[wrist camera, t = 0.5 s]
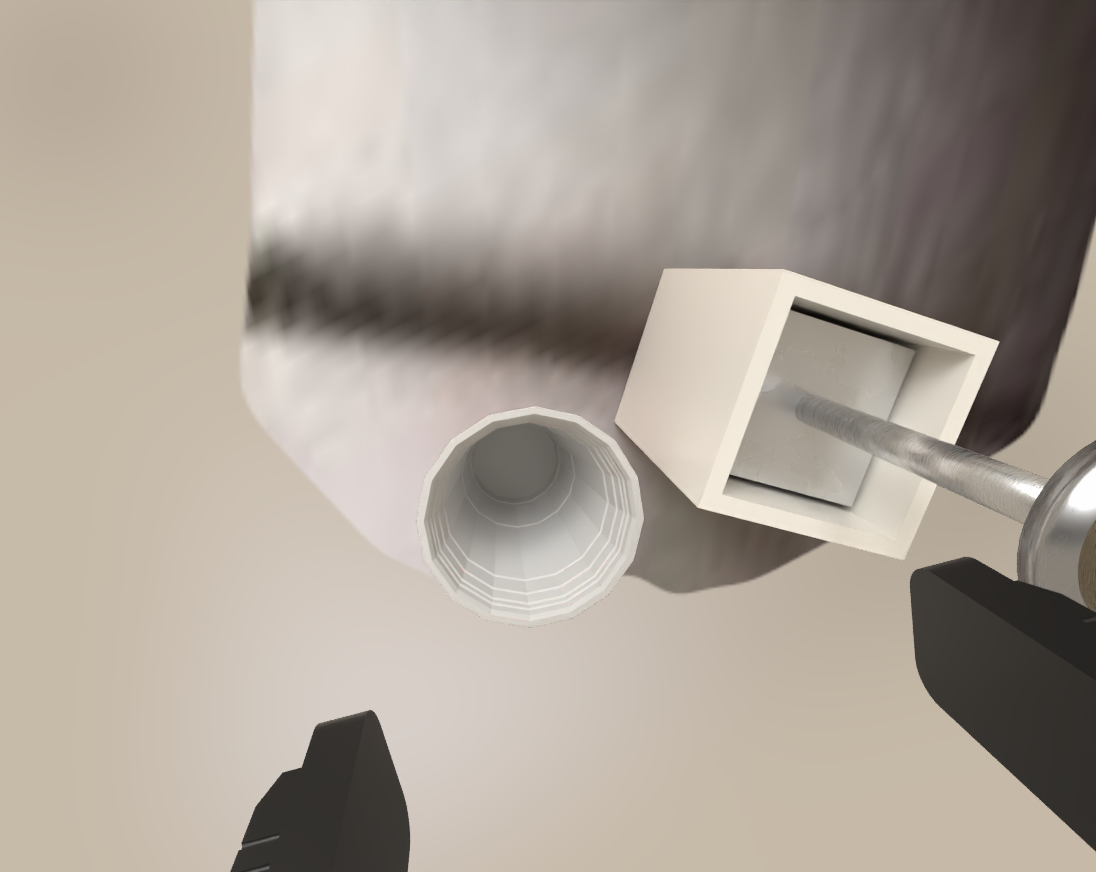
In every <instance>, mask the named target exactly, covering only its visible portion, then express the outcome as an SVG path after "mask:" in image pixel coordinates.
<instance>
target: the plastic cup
mask: <svg viewBox="0 0 1096 872" xmlns="http://www.w3.org/2000/svg"><path fill="white" fill-rule="evenodd" d="M643 521H644V515H643V508H642V502H641V495H640V489H639V482H638V476H637V475H636V473H635V472H634V470H633V468H632V467H631V465H630V464H629V462H628V460H627V459H626V457H625V456H624V454H623V452H622V451H621V449H620V447H619V446H618V444H617V443H616V441H615V440H614V439H612V438H611V437H610V436H608V435H607V434H605V433H604V432H602V431H601V430H599V429H598V428H597V427H595V426H594V425H592V424H591V423H589V422H588V421H586V420H585V419H584V418H582V417H581V416H579V415H575V414H570V413H565V412H561V411H556V410H551V409H546V408H542V407H537V406H533V407H527V408H522V409H517V410H511V411H506V412H501V413H496V414H490V415H488V416H487V417H485V418H484V419H482V420H480V421H479V422H477V423H476V424H474V425H473V426H471V427H470V428H468V429H467V430H465V431H464V432H462V433H460V434H459V435H457V436H456V437H454V438H453V439H451V440H450V442H449V443H448V444H447V446H446V447H445V449H444V450H443V452H442V453H441V455H440V456H439V458H438V459H437V460H436V462H435V463H434V465H433V466H432V468H431V469H430V471H429V472H428V474H427V475H426V476H425V479H424V484H423V489H422V494H421V499H420V504H419V509H418V514H417V519H416V524H417V529H418V533H419V538H420V542H421V547H422V551H423V556H424V561H425V564H426V566H427V567H428V569H429V570H430V571H431V573H432V574H433V575H434V577H435V578H436V580H437V581H438V582H439V584H440V585H441V586H442V588H443V589H444V591H445V592H446V593H447V595H448V596H449V597H450V599H452V600H453V601H455V602H457V603H458V604H460V605H462V606H463V607H465V608H467V609H468V610H470V611H472V612H473V613H475V614H477V615H479V616H480V617H482V618H483V619H485V620H487V621H491V622H497V623H503V624H510V625H516V626H523V627H529V628H531V627H535V626H540V625H545V624H549V623H554V622H558V621H563V620H567V619H572V618H573V617H575V616H577V615H578V614H580V613H581V612H583V611H585V610H586V609H588V608H589V607H591V606H592V605H594V604H595V603H597V602H598V601H600V600H601V599H603V598H604V597H606V596H607V595H609V593H610V592H611V591H612V589H613V588H614V587H615V585H616V584H617V582H618V581H619V580H620V578H621V577H622V576H623V574H624V573H625V571H626V570H627V569H628V567H629V566H630V564H631V563H632V562H633V560H634V557H635V553H636V549H637V545H638V541H639V537H640V533H641V529H642V525H643Z"/></svg>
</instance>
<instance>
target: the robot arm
mask: <svg viewBox="0 0 1096 872" xmlns="http://www.w3.org/2000/svg"><path fill="white" fill-rule="evenodd" d="M910 593H911V607H912V620H913V633H914V646H915V647H914V648H915V659H916V665H917V669H918V672H919V675H920V678H921V680H922V682H923V684H924V686H925V688H926V689H927V691H928V693H929V694H930V696H931V697H932V698H933V699H934V701H935V702H936V703H937V704H938V705H939V706H940V707H941V708H942V709H943V710H944V711H945V712H946V713H947V714H948V715H949V716H950V717H952V718H953V719H954V720H955V721H956V722H957V723H958V724H959V725H960V726H962V728H964V729H965V730H966V731H967V732H968V733H969V734H970V735H971V736H972V737H973V738H974V739H975V740H976V741H977V742H979V743H980V744H981V745H982V746H983V747H984V748H985V749H986V750H987V751H988V752H989V753H990V754H991V755H992V756H994V757H995V758H996V759H997V760H998V761H999V762H1000V763H1001V764H1002V765H1003V766H1004V767H1005V768H1007V769H1008V770H1009V771H1010V772H1011V773H1012V774H1013V775H1014V776H1015V777H1016V778H1017V779H1018V780H1019V781H1020V782H1022V783H1023V784H1024V785H1025V786H1026V787H1027V788H1028V789H1029V790H1030V791H1031V792H1032V793H1033V794H1034V795H1036V796H1037V797H1038V798H1039V799H1040V800H1041V801H1042V802H1043V803H1044V804H1045V805H1046V806H1047V807H1049V808H1050V809H1051V810H1052V811H1053V812H1054V813H1055V814H1056V815H1057V816H1058V817H1059V818H1060V819H1061V820H1062V821H1064V822H1065V823H1066V824H1067V825H1068V826H1069V827H1070V828H1071V829H1072V830H1073V831H1074V832H1075V833H1076V834H1078V835H1079V836H1080V837H1081V838H1082V839H1083V840H1084V841H1085V842H1086V843H1087V844H1088V845H1089V846H1090V847H1092V848H1093V849H1094V850H1095V851H1096V612H1094V611H1092V610H1090V609H1089V608H1087V607H1085V606H1083V605H1081V604H1080V603H1078V602H1076V601H1074V600H1072V599H1070V598H1069V597H1067V596H1065V595H1063V594H1061V593H1058V592H1054V591H1051V590H1048V589H1044V588H1041V587H1038V586H1035V585H1031V584H1028V583H1025V582H1021V581H1018V580H1017V581H1013V580H1011V579H1009V578H1007V577H1006V576H1004V575H1002V574H1000V573H999V572H997V571H995V570H993V569H992V568H990V567H988V566H986V565H985V564H983V563H981V562H979V561H978V560H976V559H974V558H970V557H963V558H959V559H955V560H951V561H947V562H943V563H940V564H936V565H932V566H928V567H924V568H921V569H917V570H915V571H914V572H913V574H912V576H911V579H910ZM409 851H410V827H409V818H408V812H407V806H406V802H405V798H404V794H403V791H402V788H401V785H400V782H399V779H398V776H397V773H396V770H395V767H394V764H393V761H392V758H391V755H390V752H389V749H388V746H387V743H386V740H385V737H384V734H383V731H382V728H381V725H380V723H379V720H378V718H377V716H376V714H375V713H374V712H373V711H372V710H369V711H365V712H362V713H358V714H354V715H350V716H346V717H342V718H338V719H335V720H331V721H327V722H323V723H319V724H318V725H317V726H316V727H315V729H314V732H313V735H312V738H311V741H310V744H309V747H308V750H307V753H306V756H305V759H304V763H303V765H302V768H298V769H295V770H291V771H287V772H284V773H282V774H281V775H280V777H279V778H278V779H277V780H276V782H275V783H274V784H273V785H272V787H271V788H270V789H269V791H268V792H267V793H266V794H265V796H264V797H263V798H262V799H261V801H260V802H259V803H258V804H257V806H256V807H255V810H254V812H253V815H252V817H251V820H250V823H249V825H248V828H247V831H246V833H245V835H244V838H243V841H242V850H239V851H238V854H237V856H236V859H235V861H234V864H233V866H232V869H231V872H408V862H409Z"/></svg>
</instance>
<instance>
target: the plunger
mask: <svg viewBox="0 0 1096 872" xmlns="http://www.w3.org/2000/svg"><path fill="white" fill-rule="evenodd" d="M914 354H915V350H912V349H909V348H906V347H903V346H900V345H896V344H893V343H890V342H887V341H884V340H881V339H878V338H875V337H872V336H869V335H866V334H863V333H859V332H856V331H853V330H850V329H847V328H844V327H841V326H838V325H835V324H832V323H829V322H825V321H822V320H819V319H816V318H813V317H810V316H807V315H804V314H801V313H798V312H795V311H791V310H790V311H789V314H788V316H787V319H786V322H785V325H784V327H783V330H782V333H781V335H780V338H779V341H778V344H777V346H776V349H775V352H774V354H773V357H772V360H771V363H770V365H769V368H768V371H767V373H766V376H765V379H764V382H763V384H762V387H761V390H760V392H759V395H758V398H757V401H756V403H755V406H754V409H753V411H752V414H751V417H750V420H749V422H748V425H747V428H746V430H745V433H744V436H743V439H742V441H741V444H740V447H739V449H738V452H737V455H736V458H735V460H734V463H733V466H732V468H731V471H730V474H731V475H734V476H738V477H742V478H746V479H749V480H753V481H757V482H761V483H764V484H768V485H772V486H775V487H779V488H783V489H787V490H790V491H794V492H798V493H802V494H805V495H809V496H813V497H817V498H820V499H824V500H828V501H831V502H835V503H839V504H843V505H846V506H850V507H852V504H853V502H854V499H855V497H856V494H857V492H858V490H859V487H860V485H861V482H862V480H863V477H864V475H865V473H866V470H867V468H868V465H869V463H870V460H871V458H872V456H873V455H874V456H876V457H878V458H880V459H882V460H884V461H887V462H889V463H891V464H893V465H895V466H898V467H900V468H902V469H904V470H906V471H908V472H911V473H913V474H915V475H917V476H919V477H922V478H924V479H926V480H928V481H930V482H932V483H935V484H937V485H939V486H941V487H943V488H946V489H948V490H950V491H952V492H954V493H956V494H959V495H961V496H963V497H965V498H967V499H970V500H972V501H974V502H976V503H978V504H980V505H983V506H985V507H987V508H989V509H992V510H994V511H996V512H998V513H1000V514H1002V515H1004V516H1007V517H1009V518H1011V519H1013V520H1015V521H1018V522H1020V523H1022V524H1024V526H1023V529H1022V533H1021V537H1020V540H1019V547H1018V553H1017V573H1018V581H1021V582H1025V583H1028V584H1031V585H1035V586H1038V587H1041V588H1044V589H1048V590H1051V591H1054V592H1058V593H1061V594H1063V595H1065V596H1067V597H1069V598H1070V599H1072V600H1074V601H1076V602H1078V603H1080V604H1081V605H1083V606H1085V607H1087V608H1089V609H1090V610H1092V611H1094V612H1096V441H1094V442H1092V443H1091V444H1089V445H1088V446H1086V447H1084V448H1083V449H1081V450H1080V451H1079V452H1077V453H1076V454H1075V455H1074V456H1072V457H1071V458H1070V459H1069V460H1068V461H1067V462H1065V463H1064V464H1063V465H1062V466H1061V467H1060V468H1059V469H1058V470H1057V471H1056V472H1055V474H1054V475H1053V476H1052V477H1051V479H1047V478H1044V477H1042V476H1039V475H1036V474H1033V473H1031V472H1028V471H1025V470H1022V469H1019V468H1017V467H1014V466H1011V465H1008V464H1006V463H1003V462H1000V461H997V460H995V459H992V458H989V457H986V456H984V455H981V454H978V453H975V452H973V451H970V450H967V449H964V448H961V447H959V446H956V445H953V444H950V443H948V442H945V441H942V440H939V439H937V438H934V437H931V436H928V435H926V434H923V433H920V432H917V431H914V430H912V429H909V428H906V427H903V426H901V425H898V424H895V423H892V422H890V421H887V419H888V417H889V414H890V412H891V409H892V407H893V405H894V402H895V400H896V397H897V395H898V393H899V390H900V388H901V385H902V383H903V380H904V378H905V376H906V373H907V371H908V368H909V366H910V363H911V361H912V359H913V356H914Z"/></svg>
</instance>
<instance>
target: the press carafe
mask: <svg viewBox="0 0 1096 872" xmlns="http://www.w3.org/2000/svg"><path fill="white" fill-rule="evenodd" d="M790 310H791V311H795V312H798V313H801V314H804V315H807V316H810V317H813V318H816V319H819V320H822V321H825V322H829V323H832V324H835V325H838V326H841V327H844V328H847V329H850V330H853V331H856V332H859V333H863V334H866V335H869V336H872V337H875V338H878V339H881V340H884V341H887V342H890V343H893V344H896V345H900V346H903V347H906V348H909V349H912V350H915V354H914V356H913V359H912V361H911V363H910V366H909V368H908V371H907V373H906V376H905V378H904V380H903V383H902V385H901V388H900V390H899V393H898V395H897V397H896V400H895V402H894V405H893V407H892V409H891V412H890V414H889V417H888V419H887V421H890V422H892V423H895V424H898V425H901V426H903V427H906V428H909V429H912V430H914V431H917V432H920V433H923V434H926V435H928V436H931V437H934V438H937V439H939V440H942V441H945V442H948V443H950V444H953V445H955V443H956V440H957V438H958V436H959V434H960V431H961V429H962V427H963V424H964V422H965V420H966V417H967V415H968V413H969V411H970V408H971V406H972V404H973V401H974V399H975V397H976V395H977V392H978V390H979V388H980V385H981V383H982V381H983V379H984V376H985V374H986V372H987V369H988V367H989V365H990V363H991V360H992V358H993V356H994V353H995V351H996V349H997V347H998V344H999V341H996V340H993V339H990V338H987V337H984V336H981V335H978V334H975V333H972V332H969V331H966V330H963V329H961V328H958V327H955V326H952V325H949V324H946V323H943V322H940V321H937V320H934V319H931V318H928V317H925V316H922V315H919V314H916V313H913V312H910V311H907V310H904V309H901V308H898V307H895V306H892V305H889V304H886V303H883V302H880V301H877V300H874V299H871V298H868V297H865V296H862V295H859V294H856V293H853V292H850V291H847V290H844V289H841V288H838V287H835V286H832V285H829V284H827V283H824V282H821V281H818V280H815V279H812V278H809V277H806V276H803V275H800V274H797V273H794V272H791V271H788V270H785V269H664V271H663V274H662V277H661V280H660V283H659V286H658V289H657V292H656V295H655V298H654V301H653V305H652V308H651V311H650V314H649V317H648V320H647V323H646V326H645V329H644V332H643V335H642V338H641V341H640V344H639V347H638V351H637V354H636V357H635V360H634V363H633V366H632V369H631V372H630V375H629V378H628V381H627V384H626V387H625V390H624V394H623V397H622V400H621V403H620V406H619V409H618V412H617V415H616V418H615V421H614V422H615V423H616V424H617V425H618V426H619V427H620V428H621V429H622V430H623V431H624V432H625V434H626V435H627V436H628V437H629V438H630V439H631V440H632V441H633V442H634V443H635V444H636V445H637V446H638V447H639V448H640V449H641V450H642V451H643V452H644V453H645V454H646V455H647V456H648V457H649V458H650V459H651V460H652V461H653V462H654V463H655V464H656V465H657V466H658V467H659V468H660V469H661V470H662V471H663V472H664V474H665V475H666V476H667V477H668V478H669V479H670V480H671V481H672V482H673V483H674V484H675V485H676V486H677V487H678V488H679V489H680V490H681V491H682V492H683V493H684V494H685V495H686V496H687V497H688V498H689V499H690V500H691V501H692V502H693V503H694V504H695V505H696V506H697V507H698V508H701V509H705V510H709V511H712V512H716V513H720V514H724V515H728V516H732V517H736V518H740V519H744V520H748V521H752V522H756V523H759V524H763V525H767V526H771V527H775V528H779V529H783V530H787V531H791V532H795V533H799V534H802V535H806V536H810V537H814V538H818V539H822V540H826V541H830V542H834V543H838V544H842V545H846V546H850V547H854V548H857V549H861V550H865V551H869V552H873V553H877V554H881V555H885V556H889V557H893V558H897V559H900V560H904V559H905V557H906V555H907V553H908V550H909V548H910V546H911V543H912V541H913V539H914V537H915V534H916V532H917V529H918V527H919V525H920V523H921V521H922V518H923V516H924V514H925V511H926V509H927V507H928V504H929V502H930V500H931V498H932V495H933V493H934V491H935V488H936V486H937V484H935V483H932V482H930V481H928V480H926V479H924V478H922V477H919V476H917V475H915V474H913V473H911V472H908V471H906V470H904V469H902V468H900V467H898V466H895V465H893V464H891V463H889V462H887V461H884V460H882V459H880V458H878V457H876V456H874V455H873V456H872V458H871V460H870V463H869V465H868V468H867V470H866V473H865V475H864V477H863V480H862V482H861V485H860V487H859V490H858V492H857V494H856V497H855V499H854V502H853V504H852V507H850V506H846V505H843V504H839V503H835V502H831V501H828V500H824V499H820V498H817V497H813V496H809V495H805V494H802V493H798V492H794V491H790V490H787V489H783V488H779V487H775V486H772V485H768V484H764V483H761V482H757V481H753V480H749V479H746V478H742V477H738V476H734V475H731V474H730V471H731V468H732V466H733V463H734V460H735V458H736V455H737V452H738V449H739V447H740V444H741V441H742V439H743V436H744V433H745V430H746V428H747V425H748V422H749V420H750V417H751V414H752V411H753V409H754V406H755V403H756V401H757V398H758V395H759V392H760V390H761V387H762V384H763V382H764V379H765V376H766V373H767V371H768V368H769V365H770V363H771V360H772V357H773V354H774V352H775V349H776V346H777V344H778V341H779V338H780V335H781V333H782V330H783V327H784V325H785V322H786V319H787V316H788V314H789V311H790Z"/></svg>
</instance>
